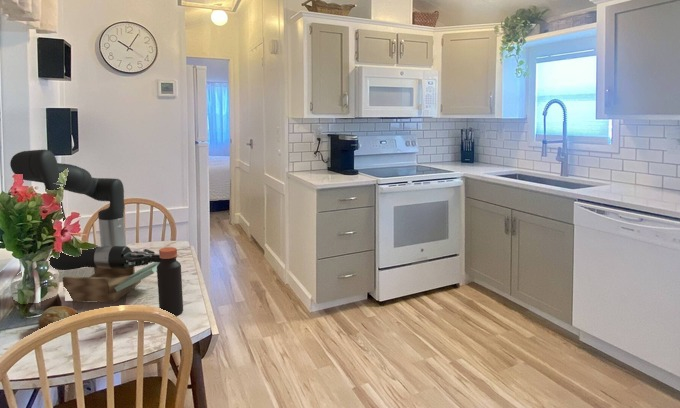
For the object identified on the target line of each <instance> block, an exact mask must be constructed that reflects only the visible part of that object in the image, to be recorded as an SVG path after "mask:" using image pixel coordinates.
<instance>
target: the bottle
mask: <svg viewBox="0 0 680 408" xmlns="http://www.w3.org/2000/svg"><path fill="white" fill-rule="evenodd" d="M177 249H178V248H177V247H172V246H171V247H167V246H166V247H163V248H160V249H158V255H159V256H160V259H161V262H160V263H159V264H158V266H157V272H156V273H157V274H156V276H157V292H158V294H157V295H158V306H159V307H158V308H161V309H163V310H166V311H168V312H170V313H172V314H174V315H177V316H179V315H181V314H182V313H183V311H184V299H183V297H184V296H183V295H184V294H183V282H182V281H183V280H182V277H183V275H182V266H181V263H180V262H179V261H178V260H177V258H178V250H177Z"/></svg>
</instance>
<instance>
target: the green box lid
mask: <svg viewBox="0 0 680 408" xmlns="http://www.w3.org/2000/svg"><path fill="white" fill-rule="evenodd" d="M159 263H160V262H152V263H150V264H148V265H146V266H144V267H142V268H141V269H139V270H136V271H135V273H134V274H133V275H131V276H130V277H128V278H127V279H126V280H124V281H123V282H122V283H120V284H119V285H118V286H116V287H115V290H116V291H120V290H122V289H124V288H126V287H128V286H130V285H132V284H134V283H136V282H138V281H140V280H141V281H142V280H144V279H146V278H148V277H150V276H152V275H154V274H155V273H157V266H158V264H159Z"/></svg>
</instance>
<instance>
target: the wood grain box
mask: <svg viewBox="0 0 680 408" xmlns="http://www.w3.org/2000/svg"><path fill="white" fill-rule="evenodd" d="M93 269H94V270H93V271H94V273H93V274H92V275H90V276H63V277H62V285H63V287H65V288H66V289H67V291H68V292H69V294H70V296H71V298H72V299H73V301H78V302H77V303H82V302H81V301H97V302H96V303H100V302H115V303H116V302H118V301H119V300H121V298H122V297H124V296H125V295H127V294H128V293H129V292H130V291H132V290H133V288H135V287H136V286H137V285H138V284H141V282H142V280H140V281H138V282H136V283H134V284H132V285H130V286H128V287H126V288H124V289H122V290H120V291H116V290H115V287H116V286H118V285H119V284H120V283H122V282H123V281H124V280H126V279H127V278H128V277H130V276H131V275H133V274H134V273H135V272H136V271H135V267H128V268H126V269H106V268H94V267H93ZM79 301H80V302H79Z"/></svg>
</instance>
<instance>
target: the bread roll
mask: <svg viewBox="0 0 680 408" xmlns="http://www.w3.org/2000/svg"><path fill="white" fill-rule="evenodd" d="M78 313H79V312H77V310H76V309H74V308H72V307H70V306H65V305H62V306H61V305H59V306H58V305H57V306H50V307H49V308H46V309H45V310H44V311H43V312H42V313H41V315H40V316H39V317H38V327H37V329H36V330H38V328H39V329H41V328H43V327H45V326H47V325H48V324H50V323H53V322H56V321H59V320H61V319H64V318H67V317H69V316H72V315H75V314H78Z"/></svg>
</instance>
